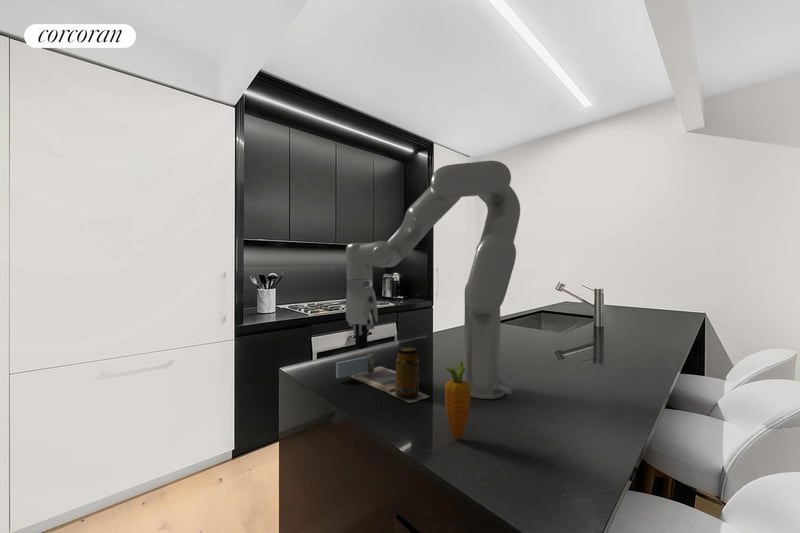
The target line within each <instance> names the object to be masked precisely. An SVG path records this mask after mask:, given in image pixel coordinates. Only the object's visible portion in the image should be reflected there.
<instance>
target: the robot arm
mask: <svg viewBox="0 0 800 533" xmlns="http://www.w3.org/2000/svg"><path fill="white" fill-rule="evenodd" d="M511 181H512V175H511V170H510V169H509V167H508V166H507V165H506V164H505V163H503V162H501V161H497V160H484V161H483V160H482V161H481V160H480V161H474V162H462V163H455V164H453V163H452V164H446V165H444V166H441V167H439V168H437V169H436V170H435V171H434V173H433V174H432V176H431V180H430V186H429V187H428V188H427V189H426V190H425V191H423V193H422V194H421V195H420V196H419V197H418V198H417V199H416V200H415V201H414V202H413V203H412V204H411V205H410V206H409V207H408V208H407V210H406V212H405V215H404V219H403V221H402V223H401V225H400V226H399V228H398V229H397V230H396V232H395V233H394V234H393V235H392V236H391V237H390V238H389V239H388V240H387V241H385V240H378V241H372V242H367V243H364V242H354V243H353V242H352V243H348V244H347V245H346V248H345V258H346V260H345V261H346V262H345V264H346V266H345V267H346V296H345V297H346V298H345V319H346V321H347V323H348V326H349V327H351V328H352V329H353V334H354V336H355V337H354V340H355V342H354V343H355V349H358V350H362V349H367V348H368V334H369V331H370V330H374V329H375V324H377V323H378V320H379V315H378V314H379V312H378V303H377V296H376V291H375V289H374V287H373V286H374V283H373V282H374V281H373V279H374V278H373V267H374V268H393V267H395V266H397V265H398V264H399V263H400V262H401V261H402V260H403V259H405V258H406V257H407V256H408V255H409V253H411V252H412V250H413V249H415V247H416V246H417V245H418V244H419V242H420V241H421V240H423V238H424V237H425V236H426V235H427V234H428V232H429V231H430V230H431V229H432V228H433V227H434V226H436V224H437V223H438V222H439V221H440V220H441V219H442V218H443V217H444V216H445V215H446V213H448V212H449V211H450V210H451V209H452V208H454V206H455V205H456V204H457V203H458V202H459V201H460V200H461V198H465V197H467V198H468V197H477V196H478V198H479V199H480V200H481V201H482V202H483V203H484V204H485V205H486V207H487V214H486V217H485V222H484V228H483V230H482V234H481V237H480V239H479V242H478V243H477V246H476V248H475V249H476V250H475V254H474V258H473V262H472V265H471V269H470V272H469V276H468V280H467V283H466V285H465V288H464V324H463V325H464V329H463V330H464V332H463V334H464V335H463V367H464V368H465V370H464V373H463V376H462V380H463V381H466V382H467V383H468V385H469V386H470V398H474V399H481V400H493V399H499V398H501V397H503V396H504V395H505V394H507V395H512V393H513V384H512V383H508V382H505V381H504V376H503V375H501V374H500V364H501V362H500V360H501V358H500V357H501V353H500V352H501V306H502V305H503V303H504V301H505V298H506V294H507V292H508V289H509V288H508V287H509V284H510V280H511V277H512V273H513V270H514V267H515V263H516V258H517V247H516V245H515V239H516V235H517V231H518V226H519V221H520V216H521V204H520V200H519V197H518V195H517V193H516V191H515V190H514V189H513V188H512V187H511V185H510V184H511Z"/></svg>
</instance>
